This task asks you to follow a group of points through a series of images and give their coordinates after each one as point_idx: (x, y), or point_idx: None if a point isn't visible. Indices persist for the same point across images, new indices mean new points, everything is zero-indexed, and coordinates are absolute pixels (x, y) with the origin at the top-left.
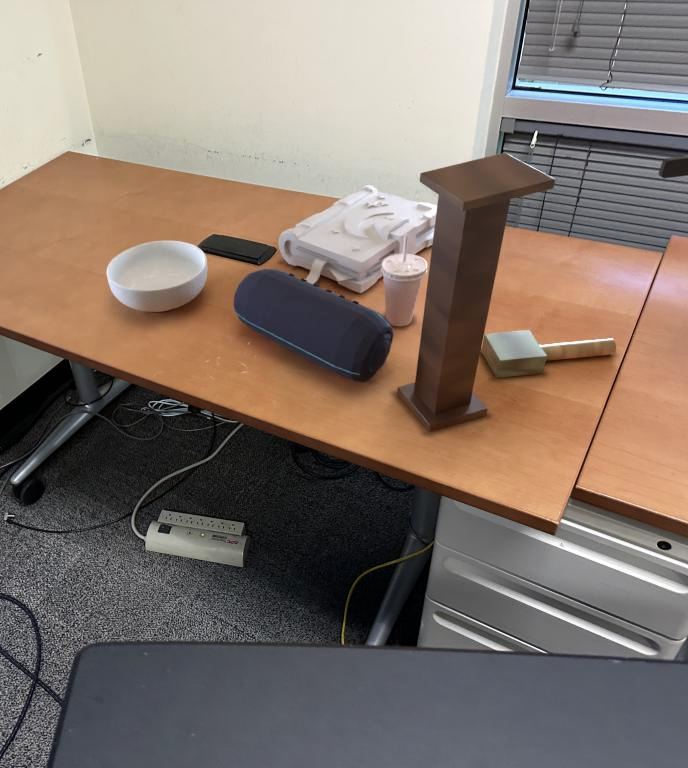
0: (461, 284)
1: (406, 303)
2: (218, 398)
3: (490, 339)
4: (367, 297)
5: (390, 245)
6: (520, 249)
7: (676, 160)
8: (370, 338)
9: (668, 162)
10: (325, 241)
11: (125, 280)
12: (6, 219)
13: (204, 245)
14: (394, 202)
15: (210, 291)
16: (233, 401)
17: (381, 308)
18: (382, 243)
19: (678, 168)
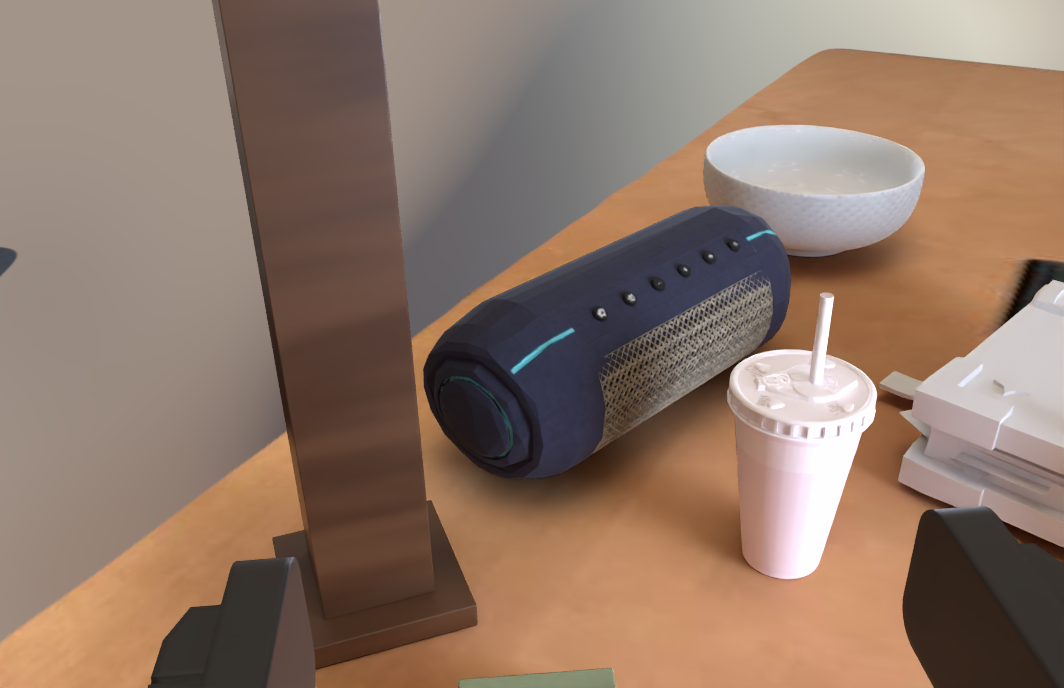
0: (243, 177)
1: (741, 485)
2: (471, 304)
3: (579, 676)
4: (892, 501)
5: None
6: None
7: (964, 561)
8: (450, 335)
9: (936, 525)
10: (1036, 344)
11: (819, 179)
12: (1043, 98)
13: (1061, 268)
14: None
15: (850, 283)
16: (459, 318)
17: (836, 524)
18: None
19: (968, 660)
